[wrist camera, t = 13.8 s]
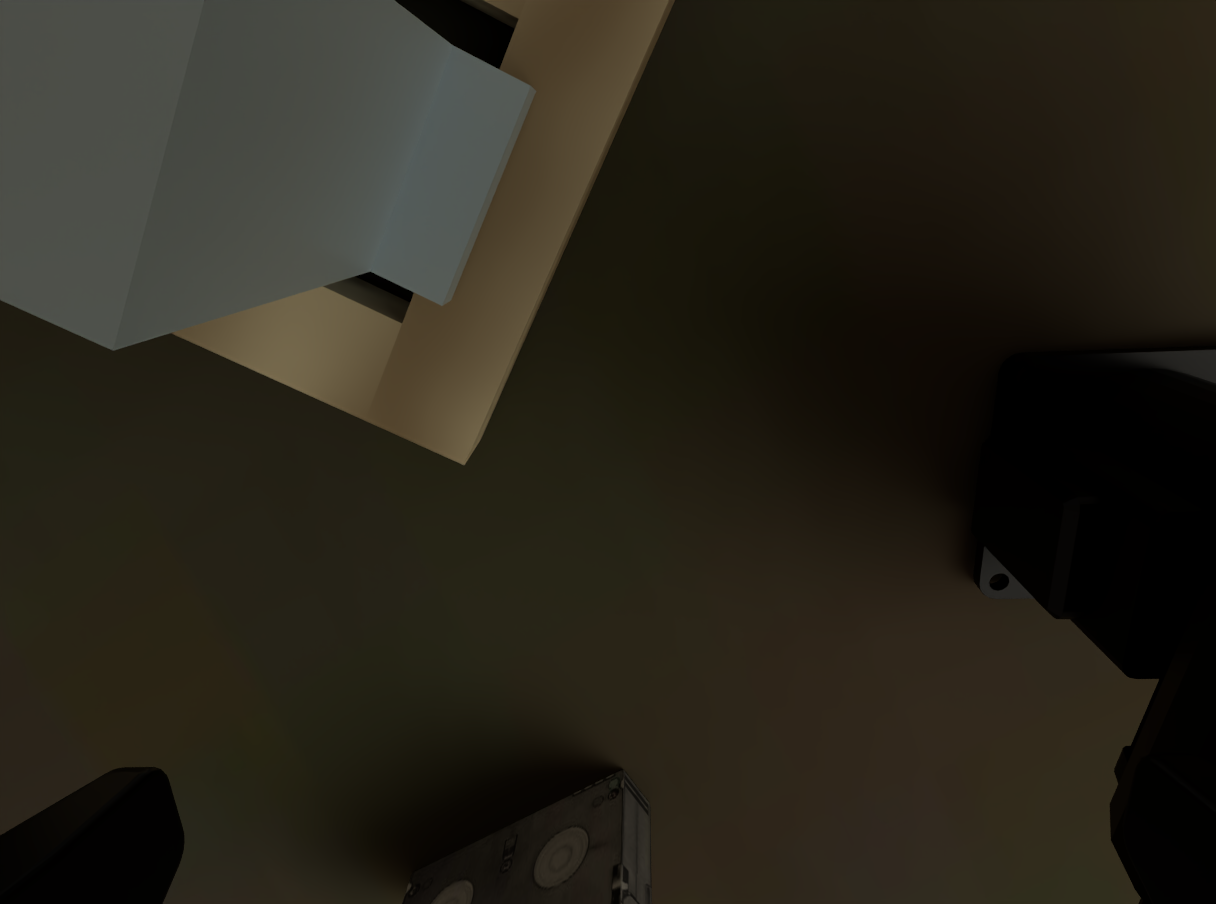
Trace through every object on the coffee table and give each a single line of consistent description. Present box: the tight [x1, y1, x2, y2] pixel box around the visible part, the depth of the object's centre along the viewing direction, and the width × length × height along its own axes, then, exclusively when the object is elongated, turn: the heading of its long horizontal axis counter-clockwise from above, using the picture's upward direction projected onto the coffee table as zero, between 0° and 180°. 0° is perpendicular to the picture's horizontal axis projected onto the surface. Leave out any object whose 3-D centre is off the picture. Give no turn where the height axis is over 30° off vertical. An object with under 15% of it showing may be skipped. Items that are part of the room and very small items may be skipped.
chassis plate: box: [172, 0, 675, 465], centre depth 16 cm, size 13×12×2 cm
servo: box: [0, 0, 536, 351], centre depth 12 cm, size 9×5×12 cm, turn 64°
